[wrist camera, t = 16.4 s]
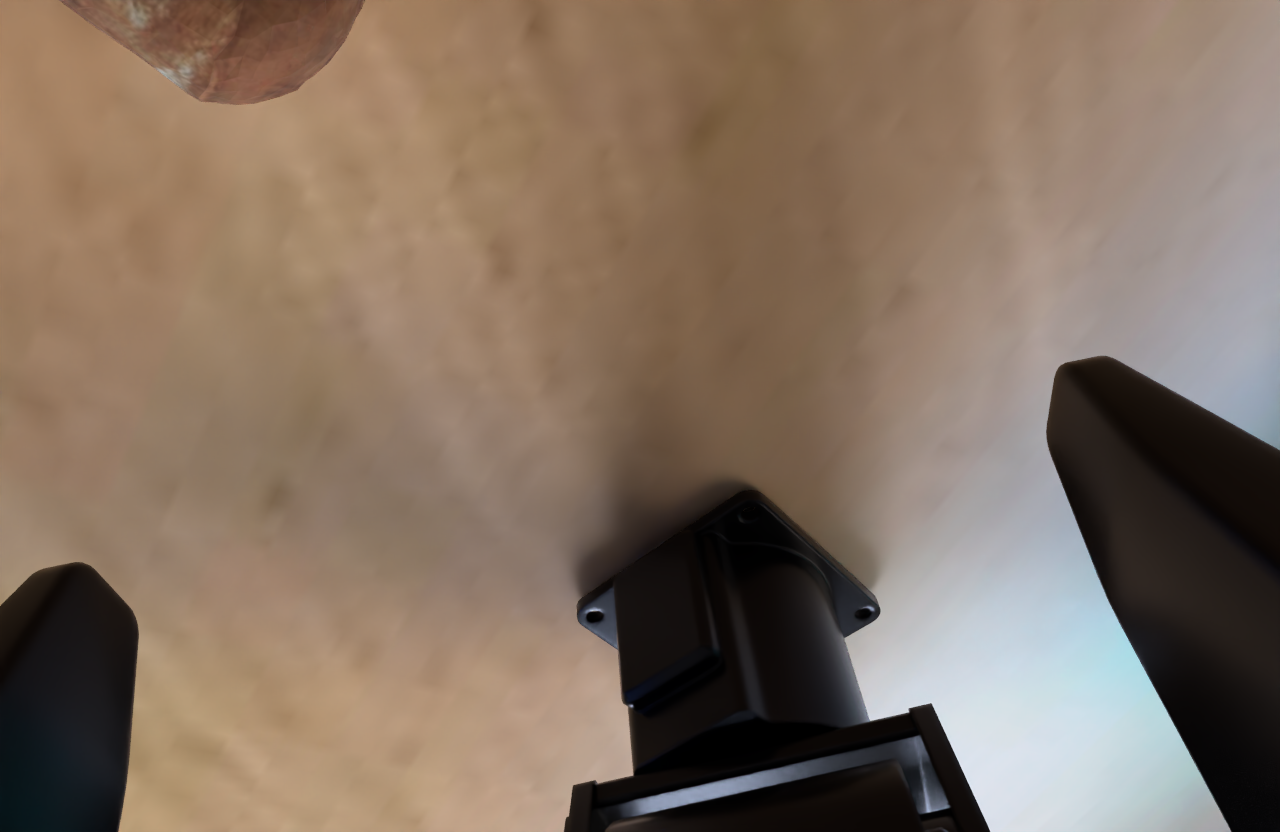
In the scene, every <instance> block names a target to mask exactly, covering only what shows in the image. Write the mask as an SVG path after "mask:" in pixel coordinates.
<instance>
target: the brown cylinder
mask: <svg viewBox="0 0 1280 832" xmlns="http://www.w3.org/2000/svg"><path fill="white" fill-rule="evenodd" d="M59 1H61V2H62V3H64V4H65V5H66V6H68V7H69V8H70V9H72V10H73V11H74V12H76V13H77V14H78V15H80V16H81V17H82V18H84V19H85V20H86V21H88V22H89V23H90V24H92V25H93V26H95V27H96V28H97V29H99V30H100V31H102V32H103V33H105V34H106V35H108V36H109V37H110V38H112V39H113V40H115V41H116V42H118V43H119V44H121V45H123V46H124V47H126V48H127V49H129V50H130V51H132V52H133V53H135V54H136V55H138V56H139V57H140V58H142V59H143V60H144V61H146V62H147V63H148V64H150V65H151V66H152V67H154V68H155V69H156V70H158V71H159V72H160V73H162V74H163V75H164V76H165V77H167V78H168V79H169V80H171V81H172V82H173V83H175V84H176V85H177V86H179V87H180V88H181V89H183V90H184V91H185V92H187V93H188V94H189V95H191V96H193V97H194V98H196V99H198V100H199V101H201V102H217V103H221V104H234V105H241V104H254V103H258V102H262V101H266V100H269V99H273V98H277V97H280V96H283V95H285V94H288V93H290V92H293V91H296V90H298V89H299V87H300V86H301V85H302V84H303V83H304V82H305V81H306V80H308V79H309V78H311V77H312V76H313V75H315V74H316V73H317V72H318V71H319V70H320V69H322V68H323V67H324V66H325V65H326V64H327V63H328V62H329V61H330V60H331V58H332V57H333V56H334V55H335V53H336V52H337V51H338V49H339V48H340V47H341V45H342V44H343V43H344V41H345V39H346V38H347V36H348V34H349V32H350V30H351V28H352V25H353V23H354V21H355V18H356V17H357V15H358V14H359V12H360V10H361V9H362V6H363V4H364V1H365V0H59Z"/></svg>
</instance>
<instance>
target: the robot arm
mask: <svg viewBox="0 0 1280 832" xmlns="http://www.w3.org/2000/svg"><path fill="white" fill-rule="evenodd" d="M1046 433H1047V443H1048V447H1049V451H1050V454H1051V457H1052V460H1053V462H1054V465H1055V467H1056V470H1057V473H1058V475H1059V478H1060V480H1061V483H1062V485H1063V488H1064V490H1065V493H1066V496H1067V498H1068V501H1069V503H1070V506H1071V508H1072V511H1073V514H1074V516H1075V519H1076V521H1077V524H1078V526H1079V529H1080V532H1081V534H1082V537H1083V539H1084V542H1085V544H1086V547H1087V549H1088V552H1089V555H1090V557H1091V560H1092V562H1093V565H1094V567H1095V570H1096V573H1097V575H1098V577H1099V580H1100V582H1101V585H1102V587H1103V589H1104V592H1105V594H1106V597H1107V599H1108V601H1109V603H1110V605H1111V607H1112V609H1113V611H1114V613H1115V615H1116V617H1117V619H1118V621H1119V623H1120V625H1121V626H1122V628H1123V630H1124V632H1125V634H1126V636H1127V638H1128V639H1129V641H1130V643H1131V645H1132V647H1133V649H1134V651H1135V653H1136V654H1137V656H1138V658H1139V660H1140V662H1141V664H1142V666H1143V667H1144V669H1145V671H1146V673H1147V675H1148V677H1149V679H1150V681H1151V682H1152V684H1153V686H1154V688H1155V690H1156V692H1157V694H1158V695H1159V697H1160V699H1161V701H1162V703H1163V705H1164V707H1165V708H1166V710H1167V712H1168V714H1169V716H1170V718H1171V720H1172V722H1173V723H1174V725H1175V727H1176V729H1177V731H1178V733H1179V735H1180V736H1181V738H1182V740H1183V742H1184V744H1185V746H1186V748H1187V750H1188V751H1189V753H1190V755H1191V757H1192V759H1193V761H1194V763H1195V764H1196V766H1197V768H1198V770H1199V772H1200V774H1201V776H1202V777H1203V779H1204V781H1205V783H1206V785H1207V787H1208V789H1209V791H1210V792H1211V794H1212V796H1213V798H1214V800H1215V802H1216V804H1217V805H1218V807H1219V809H1220V811H1221V813H1222V815H1223V817H1224V819H1225V820H1226V822H1227V824H1228V826H1229V828H1230V830H1231V832H1280V450H1278V449H1277V448H1275V447H1273V446H1271V445H1269V444H1268V443H1266V442H1264V441H1262V440H1260V439H1258V438H1257V437H1255V436H1253V435H1251V434H1249V433H1248V432H1246V431H1244V430H1242V429H1240V428H1239V427H1237V426H1235V425H1233V424H1231V423H1230V422H1228V421H1226V420H1224V419H1222V418H1221V417H1219V416H1217V415H1215V414H1213V413H1212V412H1210V411H1208V410H1206V409H1204V408H1203V407H1201V406H1199V405H1197V404H1195V403H1194V402H1192V401H1190V400H1188V399H1186V398H1185V397H1183V396H1181V395H1179V394H1177V393H1176V392H1174V391H1172V390H1170V389H1168V388H1166V387H1165V386H1163V385H1161V384H1159V383H1157V382H1156V381H1154V380H1152V379H1150V378H1148V377H1147V376H1145V375H1143V374H1141V373H1139V372H1138V371H1136V370H1134V369H1132V368H1130V367H1129V366H1127V365H1125V364H1123V363H1121V362H1120V361H1118V360H1116V359H1114V358H1111V357H1108V356H1097V357H1092V358H1087V359H1082V360H1077V361H1072V362H1067V363H1064V364H1063V365H1061V366H1060V367H1059V368H1058V370H1057V371H1056V374H1055V378H1054V383H1053V390H1052V396H1051V402H1050V409H1049V415H1048V421H1047V430H1046ZM749 507H755V508H754V509H753V510H751V511H743V510H744V509H746V508H749ZM861 608H862V609H861ZM594 610H598V611H597V612H591V611H594ZM879 614H880V607H879V604H878V601H877V599H876V597H875V595H874V594H873V593H872V592H870V591H869V590H868V589H867V588H866V587H865V586H864V585H863V584H862V583H860V582H859V581H858V580H857V579H856V578H855V577H854V576H853V575H852V574H851V573H849V572H848V571H847V570H846V569H845V568H844V567H843V566H842V565H841V564H839V563H838V562H837V561H836V560H835V559H834V558H833V557H832V556H831V555H830V554H828V553H827V552H826V551H825V550H824V549H823V548H822V547H821V546H820V545H818V544H817V543H816V542H815V541H814V540H813V539H812V538H811V537H810V536H809V535H807V534H806V533H805V532H804V531H803V530H802V529H801V528H800V527H799V526H798V525H796V524H795V523H794V522H793V521H792V520H791V519H790V518H789V517H788V516H786V515H785V514H784V513H783V512H782V511H781V510H780V509H779V508H778V507H777V506H775V505H774V504H773V503H772V502H771V501H770V500H769V499H768V498H767V497H765V496H764V495H763V494H762V493H760V492H758V491H754V490H747V491H742V492H740V493H738V494H736V495H734V496H733V497H731V498H730V499H728V500H727V501H725V502H724V503H722V504H721V505H719V506H718V507H716V508H715V509H713V510H712V511H710V512H709V513H707V514H706V515H704V516H703V517H702V518H700V519H699V520H697V521H696V522H694V523H693V524H691V525H690V526H688V527H687V528H685V529H684V530H682V531H681V532H679V533H678V534H676V535H675V536H673V537H672V538H670V539H669V540H667V541H666V542H664V543H663V544H661V545H660V546H658V547H657V548H655V549H654V550H652V551H651V552H649V553H648V554H646V555H645V556H643V557H642V558H640V559H639V560H637V561H636V562H634V563H633V564H631V565H630V566H628V567H627V568H625V569H624V570H622V571H621V572H619V573H618V574H616V575H615V576H613V577H612V578H610V579H609V580H608V581H606V582H605V583H603V584H602V585H600V586H599V587H597V588H596V589H594V590H593V591H591V592H590V593H588V594H587V595H585V596H584V597H582V598H581V599H580V600H579V601H578V604H577V618H578V622H579V623H580V624H581V625H582V626H584V627H585V628H587V629H588V630H590V631H591V632H593V633H594V634H596V635H597V636H599V637H600V638H601V639H603V640H604V641H606V642H607V643H609V644H610V645H612V646H613V647H615V648H616V649H618V659H619V672H620V685H621V698H622V701H623V703H624V704H625V705H627V706H628V714H629V726H630V738H631V750H632V763H633V776H629V777H625V778H620V779H616V780H612V781H607V782H603V783H597V782H596V780H594V781H590V782H586V783H581V784H577V785H573V790H572V797H571V805H570V813H569V817H566V821H565V829H564V832H990V830H989V828H988V825H987V823H986V821H985V819H984V817H983V815H982V812H981V810H980V808H979V806H978V804H977V801H976V799H975V797H974V795H973V793H972V791H971V788H970V786H969V784H968V782H967V780H966V778H965V775H964V773H963V771H962V769H961V767H960V764H959V762H958V760H957V758H956V756H955V754H954V751H953V749H952V747H951V745H950V743H949V740H948V738H947V736H946V734H945V732H944V730H943V727H942V725H941V723H940V721H939V719H938V716H937V714H936V712H935V710H934V708H933V706H932V704H931V703H930V704H926V705H922V706H917V707H913V708H909V713H905V714H900V715H896V716H892V717H887V718H883V719H878V720H874V721H870V720H869V717H868V714H867V711H866V707H865V704H864V701H863V698H862V695H861V691H860V688H859V685H858V682H857V679H856V675H855V672H854V669H853V666H852V663H851V659H850V656H849V653H848V650H847V647H846V643H845V640H844V638H845V637H847V636H849V635H850V634H852V633H854V632H856V631H857V630H859V629H861V628H863V627H864V626H866V625H868V624H870V623H871V622H873V621H874V620H875V619H877V618H878V616H879ZM138 639H139V631H138V624H137V620H136V617H135V615H134V613H133V611H132V610H131V608H130V607H129V606H128V605H127V604H126V603H125V601H124V600H123V599H122V598H121V597H120V596H119V595H118V594H117V593H116V592H115V591H114V590H113V589H112V587H111V586H110V585H109V584H108V583H107V582H106V581H105V580H104V579H103V578H102V577H101V576H100V575H99V573H98V572H97V571H96V570H95V569H94V568H92V567H91V566H90V565H87V564H85V563H82V562H74V563H69V564H64V565H59V566H54V567H49V568H45V569H42V570H39V571H37V572H35V573H34V574H32V575H31V576H30V577H29V578H28V579H27V580H26V581H25V582H24V583H23V584H22V585H21V586H20V587H19V588H18V589H17V590H16V591H15V592H14V593H13V594H12V595H11V596H10V597H9V598H8V599H7V600H6V601H5V602H4V603H3V604H2V605H1V606H0V832H118V830H119V825H120V819H121V814H122V808H123V802H124V796H125V790H126V783H127V774H128V765H129V755H130V742H131V729H132V716H133V703H134V690H135V677H136V664H137V652H138Z"/></svg>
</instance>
